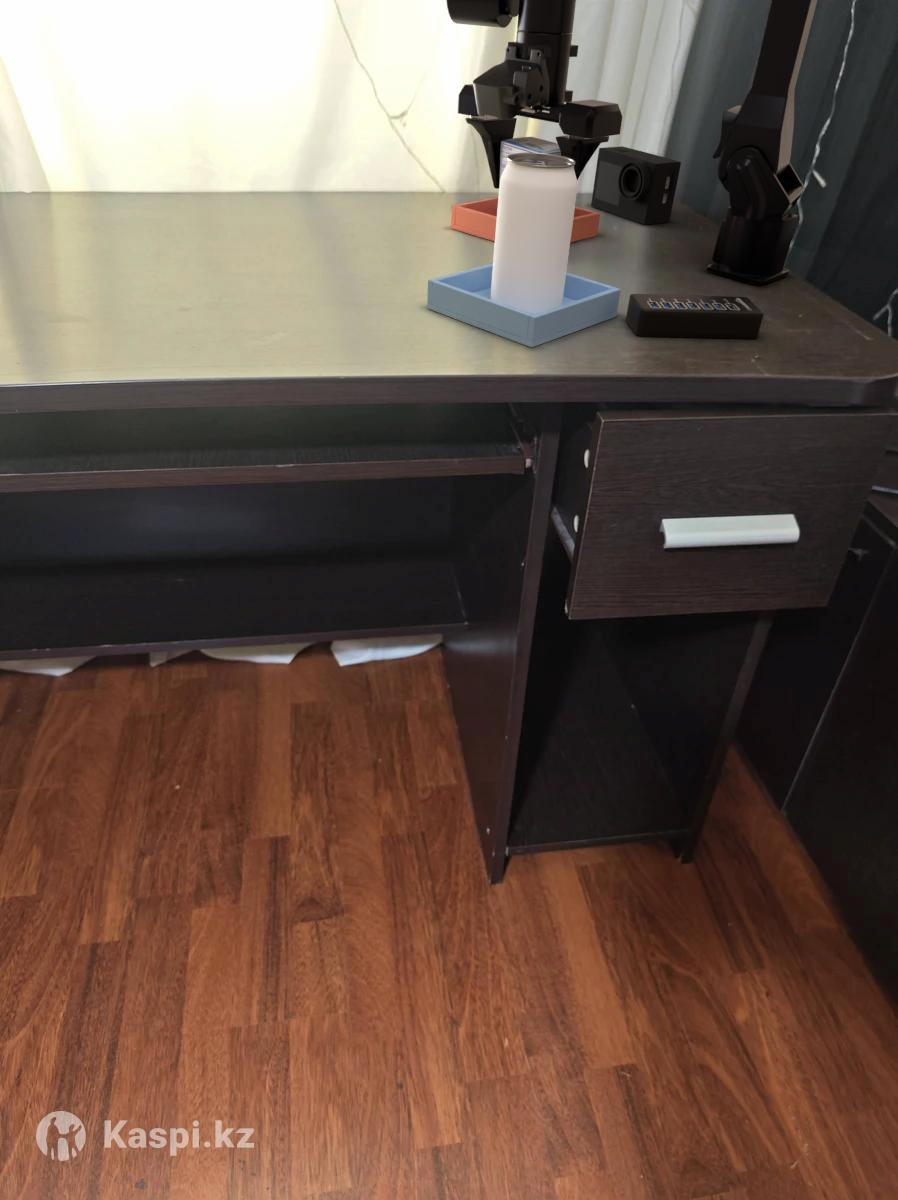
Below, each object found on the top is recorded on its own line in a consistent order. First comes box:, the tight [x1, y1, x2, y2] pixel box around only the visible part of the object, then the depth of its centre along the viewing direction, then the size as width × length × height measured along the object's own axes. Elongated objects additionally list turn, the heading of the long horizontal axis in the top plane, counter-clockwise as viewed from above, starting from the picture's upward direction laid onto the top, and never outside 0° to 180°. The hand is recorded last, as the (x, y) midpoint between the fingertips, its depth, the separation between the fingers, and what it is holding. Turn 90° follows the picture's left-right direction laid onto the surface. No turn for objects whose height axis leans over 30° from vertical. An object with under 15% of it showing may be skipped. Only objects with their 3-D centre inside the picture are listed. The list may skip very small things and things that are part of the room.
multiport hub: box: [625, 293, 765, 340], centre depth 75 cm, size 4×11×2 cm, turn 95°
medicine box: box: [500, 136, 561, 178], centre depth 97 cm, size 8×4×9 cm, turn 30°
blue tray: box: [426, 262, 622, 348], centre depth 76 cm, size 12×12×2 cm
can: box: [491, 153, 578, 315], centre depth 73 cm, size 6×6×12 cm
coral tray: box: [450, 196, 601, 244], centre depth 99 cm, size 12×12×2 cm
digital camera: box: [590, 145, 682, 226], centre depth 107 cm, size 10×5×7 cm, turn 33°
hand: (528, 195), depth 97 cm, fingers open, 9 cm apart
